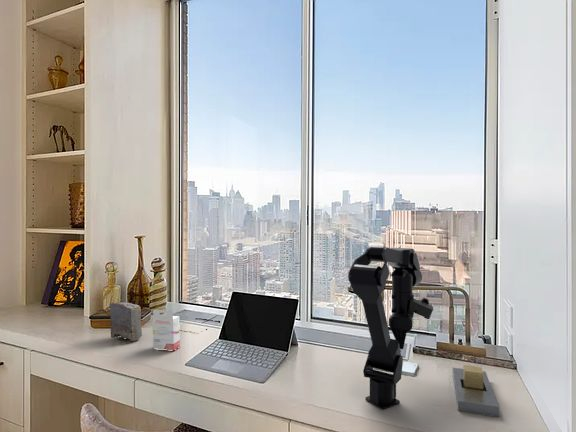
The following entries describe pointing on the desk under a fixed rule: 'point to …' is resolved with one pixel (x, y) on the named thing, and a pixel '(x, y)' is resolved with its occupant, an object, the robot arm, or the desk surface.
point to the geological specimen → (125, 320)
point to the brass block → (472, 377)
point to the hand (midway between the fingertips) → (402, 343)
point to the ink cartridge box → (166, 330)
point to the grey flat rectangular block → (475, 396)
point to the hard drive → (408, 368)
